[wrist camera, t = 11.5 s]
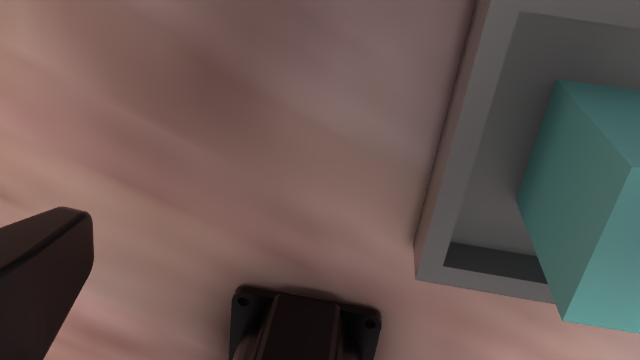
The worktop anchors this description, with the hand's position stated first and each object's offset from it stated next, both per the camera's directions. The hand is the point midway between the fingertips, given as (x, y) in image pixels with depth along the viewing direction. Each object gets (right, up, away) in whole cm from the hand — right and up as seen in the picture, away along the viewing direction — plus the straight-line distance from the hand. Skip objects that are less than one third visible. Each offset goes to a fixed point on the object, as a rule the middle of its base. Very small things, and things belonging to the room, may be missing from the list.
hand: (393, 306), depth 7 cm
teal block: (+8, +3, +10) cm, 13 cm away
